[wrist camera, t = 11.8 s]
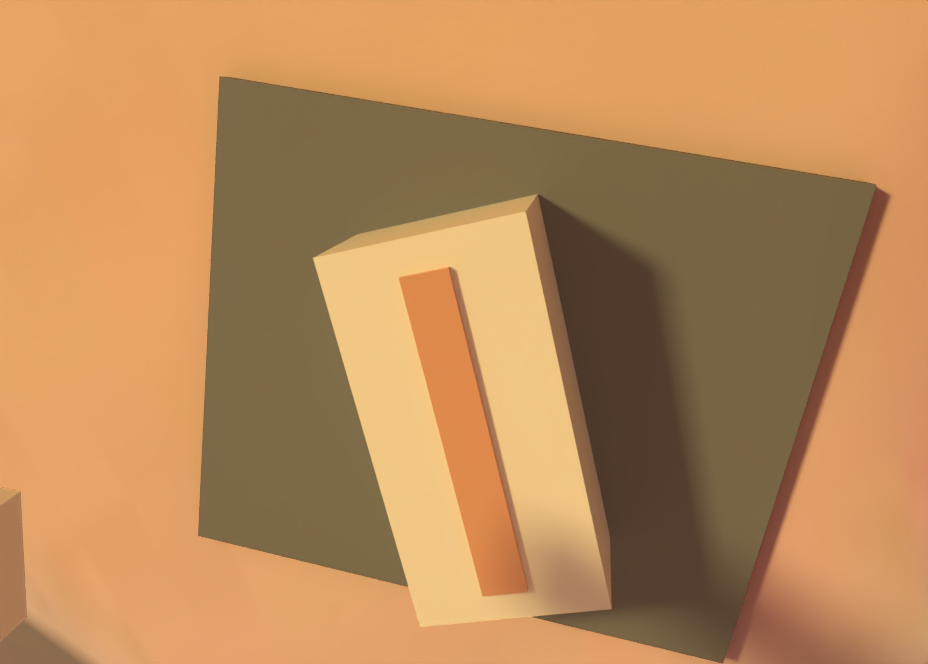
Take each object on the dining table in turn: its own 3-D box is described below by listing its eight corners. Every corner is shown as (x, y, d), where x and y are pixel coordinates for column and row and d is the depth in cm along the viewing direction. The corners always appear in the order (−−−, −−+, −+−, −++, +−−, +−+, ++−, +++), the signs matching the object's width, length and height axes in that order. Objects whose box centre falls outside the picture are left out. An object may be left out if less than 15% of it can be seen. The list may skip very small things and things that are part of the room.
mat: (205, 527, 30) (198, 535, 29) (228, 77, 24) (219, 76, 24) (720, 651, 27) (722, 663, 27) (869, 183, 22) (876, 185, 21)
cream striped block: (357, 234, 24) (309, 259, 20) (537, 194, 23) (525, 212, 19) (444, 554, 27) (418, 631, 23) (609, 535, 26) (611, 613, 22)
